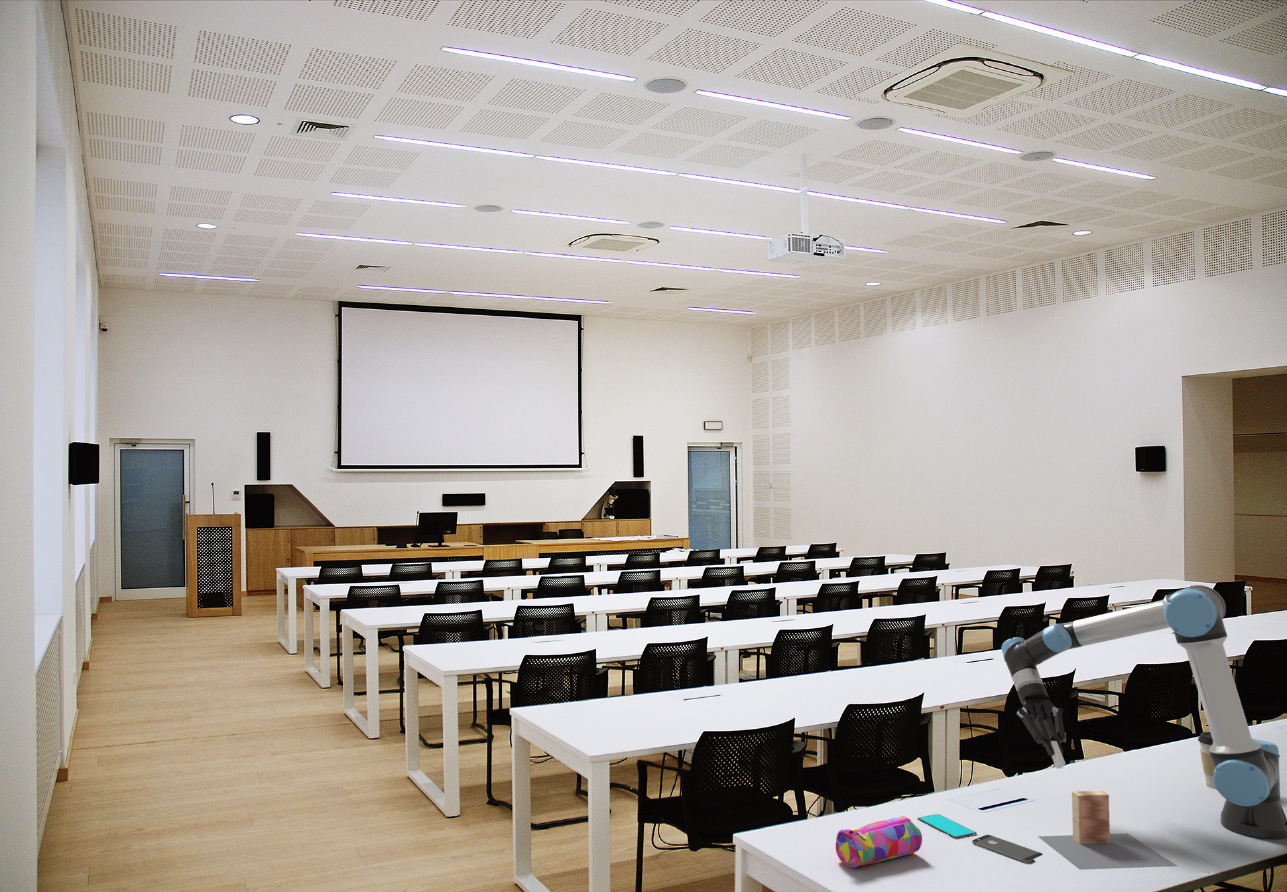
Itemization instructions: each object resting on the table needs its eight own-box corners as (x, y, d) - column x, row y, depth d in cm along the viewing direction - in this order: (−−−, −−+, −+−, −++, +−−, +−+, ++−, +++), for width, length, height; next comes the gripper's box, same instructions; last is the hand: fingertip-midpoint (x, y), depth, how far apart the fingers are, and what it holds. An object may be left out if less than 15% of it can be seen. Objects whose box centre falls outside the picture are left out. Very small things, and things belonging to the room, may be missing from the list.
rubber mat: (1127, 835, 239) (1127, 833, 239) (1177, 868, 219) (1177, 865, 219) (1037, 838, 237) (1037, 836, 237) (1079, 871, 217) (1079, 869, 218)
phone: (1045, 858, 226) (987, 837, 239) (1045, 853, 226) (987, 833, 239) (1027, 865, 222) (969, 844, 235) (1027, 861, 222) (969, 840, 235)
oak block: (1103, 837, 236) (1102, 790, 236) (1110, 843, 233) (1109, 794, 233) (1073, 839, 236) (1071, 791, 236) (1079, 844, 232) (1078, 795, 233)
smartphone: (955, 837, 238) (916, 817, 252) (955, 840, 238) (917, 820, 252) (977, 832, 241) (938, 813, 254) (977, 835, 241) (938, 816, 254)
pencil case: (856, 876, 216) (856, 837, 217) (831, 861, 225) (830, 824, 225) (925, 857, 226) (925, 820, 227) (898, 844, 235) (898, 808, 235)
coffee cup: (1237, 784, 278) (1236, 734, 278) (1237, 793, 269) (1236, 742, 270) (1199, 778, 283) (1198, 729, 284) (1198, 788, 275) (1197, 737, 275)
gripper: (1048, 695, 267) (1079, 772, 250) (1004, 696, 266) (1032, 773, 249) (1057, 681, 262) (1089, 758, 245) (1012, 681, 261) (1042, 759, 244)
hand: (1060, 765), depth 247 cm, fingers closed
